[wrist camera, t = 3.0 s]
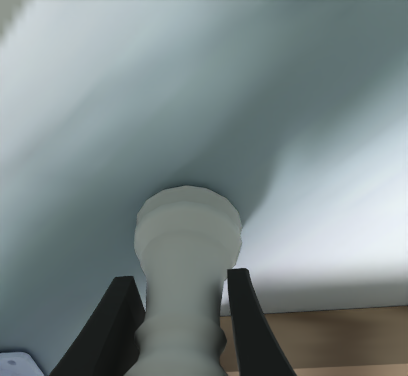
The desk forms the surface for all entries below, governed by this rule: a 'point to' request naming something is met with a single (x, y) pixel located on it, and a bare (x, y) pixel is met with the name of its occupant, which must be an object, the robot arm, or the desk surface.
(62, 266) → the desk surface
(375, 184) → the desk surface
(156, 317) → the rook chess piece
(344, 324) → the walnut block
